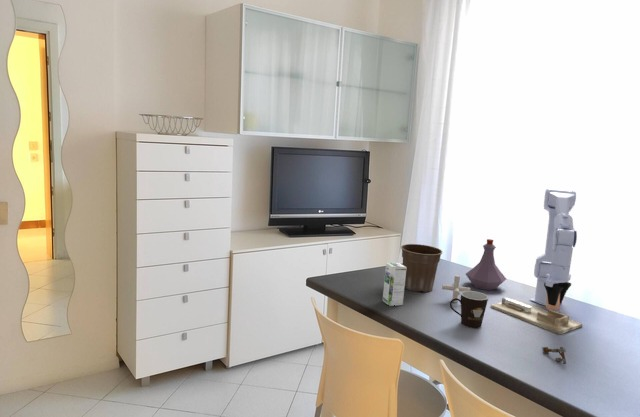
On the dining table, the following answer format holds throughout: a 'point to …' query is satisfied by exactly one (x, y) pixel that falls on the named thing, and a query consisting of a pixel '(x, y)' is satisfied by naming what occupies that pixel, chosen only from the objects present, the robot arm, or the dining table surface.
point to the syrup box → (394, 284)
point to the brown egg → (552, 305)
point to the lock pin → (517, 304)
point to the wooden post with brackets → (547, 350)
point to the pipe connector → (455, 288)
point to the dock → (540, 317)
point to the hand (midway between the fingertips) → (554, 303)
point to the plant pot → (420, 266)
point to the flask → (486, 270)
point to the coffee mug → (471, 308)
